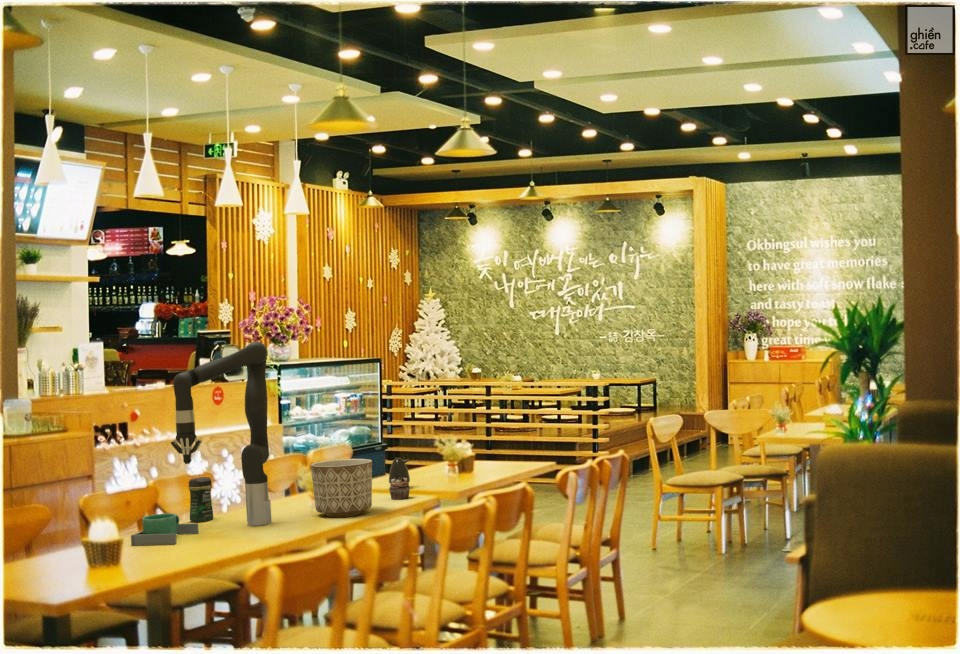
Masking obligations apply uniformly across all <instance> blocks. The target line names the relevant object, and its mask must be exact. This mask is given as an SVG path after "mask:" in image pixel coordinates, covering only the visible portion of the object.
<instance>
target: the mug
mask: <svg viewBox="0 0 960 654" xmlns="http://www.w3.org/2000/svg"><path fill="white" fill-rule="evenodd" d="M178 524H180V517H179V516H178V515H177V514H174V513H159V514H158V513H157V514H152V515H147V516H143V517H142V530H143V534H176V530H177V526H178Z"/></svg>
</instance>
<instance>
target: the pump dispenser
mask: <svg viewBox="0 0 960 654" xmlns="http://www.w3.org/2000/svg"><path fill="white" fill-rule="evenodd" d="M409 461H410V459H409V458H407V459H402V458H401V457H396V458H395V459H393V460H392V463H391V466H390V468H389V473H388V483H389V485H390V486H391V483H392V482H391V480H392V479H393V478H394V477H395V478H396V479H397V477H401V478H403V477H405V478H407V482H408V483H409V484H410V481H411V477H410V473H409V470H408V467H407V465H406V463H408V462H409ZM390 486H389V487H390Z"/></svg>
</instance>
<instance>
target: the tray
mask: <svg viewBox="0 0 960 654" xmlns="http://www.w3.org/2000/svg"><path fill="white" fill-rule="evenodd" d="M199 533H200V531H199V523H198V522H192V523H179V524H178V526H177V530H176V534H177V535H199ZM176 534H143V529H142V530H141V531H138V532H135V533H132V534H131V535H130V544H131V547H132V546H133V547H135V546H137V547H138V546H139V547H140V546H167V545H168V546H170V545H171V546H172V545H173V546H174V545H177V535H176Z"/></svg>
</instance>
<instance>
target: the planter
mask: <svg viewBox="0 0 960 654" xmlns="http://www.w3.org/2000/svg"><path fill="white" fill-rule="evenodd" d="M310 472H311V480H312V488H313V489H312V490H313V497H314V504H315V510H316V512H318V513H320V514H325V515H326V516H327V517H332V518H341V517H351V516H358V515H361V514H362V513H363V511H365V510H369V509H370V508H372V505H373V503H372V500H373V493H372V491H373V489H372V488H373V460H372V459H367V458H342V459H340V458H339V459H329V460H323V461H317V462H313V463H311V464H310Z"/></svg>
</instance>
